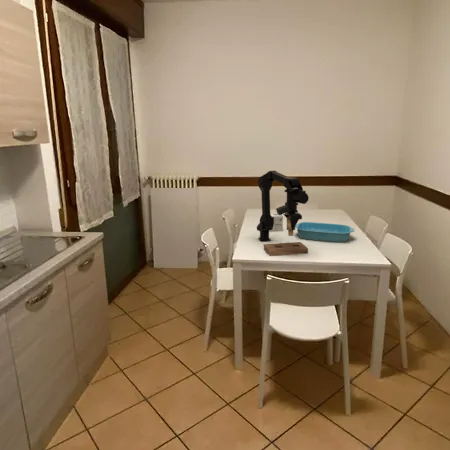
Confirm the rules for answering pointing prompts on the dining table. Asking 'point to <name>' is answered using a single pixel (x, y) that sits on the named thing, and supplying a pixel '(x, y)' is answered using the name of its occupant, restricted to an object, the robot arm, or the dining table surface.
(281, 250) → the walnut board
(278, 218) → the light bulb box
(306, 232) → the casserole dish
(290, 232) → the oak peg
